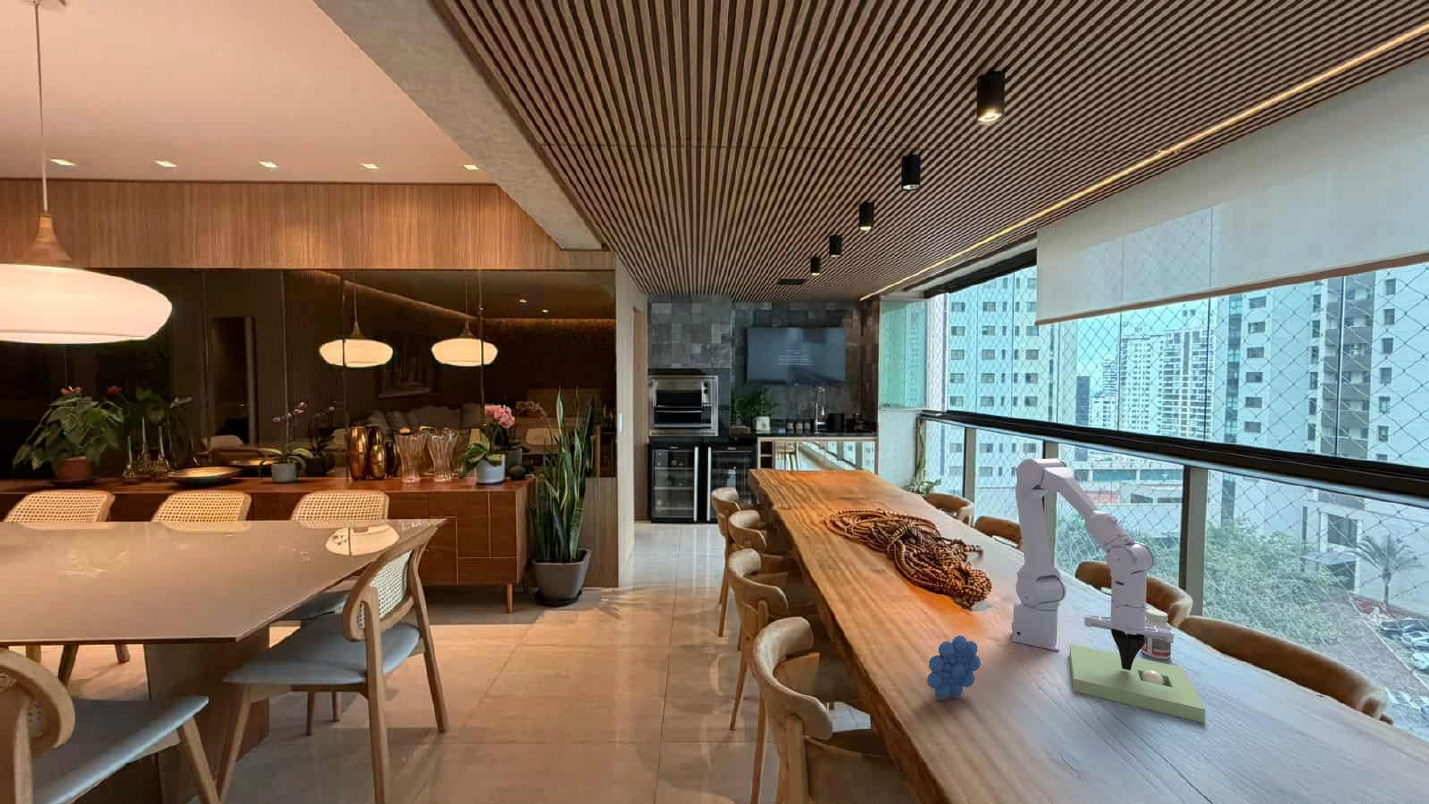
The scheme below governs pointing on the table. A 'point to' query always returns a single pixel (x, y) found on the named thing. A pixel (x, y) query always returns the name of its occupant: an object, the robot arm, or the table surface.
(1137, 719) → the table surface
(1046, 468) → the robot arm
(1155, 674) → the ball
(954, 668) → the grapes
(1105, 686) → the putting mat
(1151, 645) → the pill bottle
